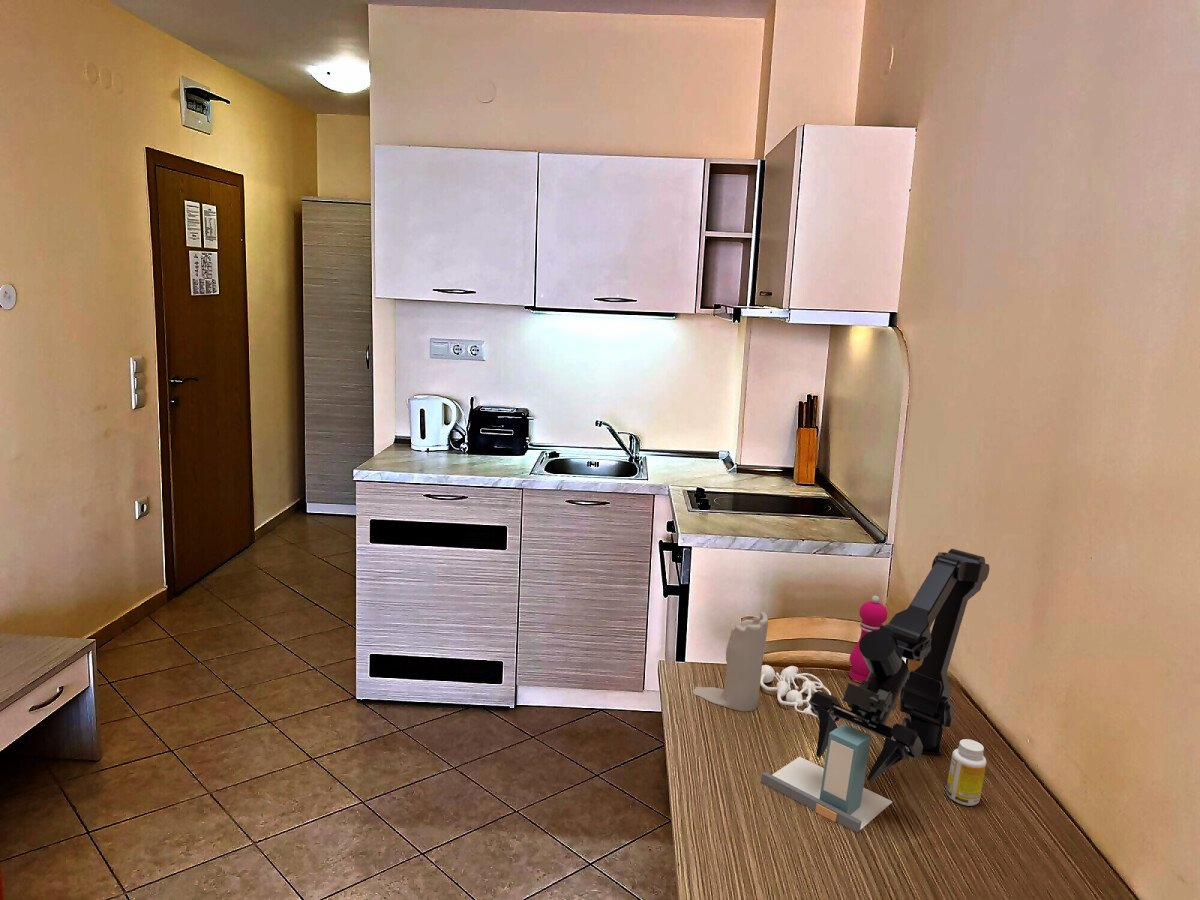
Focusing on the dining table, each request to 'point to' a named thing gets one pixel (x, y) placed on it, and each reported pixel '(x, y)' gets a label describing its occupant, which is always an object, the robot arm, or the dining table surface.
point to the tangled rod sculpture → (784, 686)
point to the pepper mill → (871, 621)
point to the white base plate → (805, 787)
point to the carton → (845, 768)
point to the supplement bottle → (966, 773)
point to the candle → (741, 667)
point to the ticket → (826, 812)
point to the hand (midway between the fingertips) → (842, 768)
